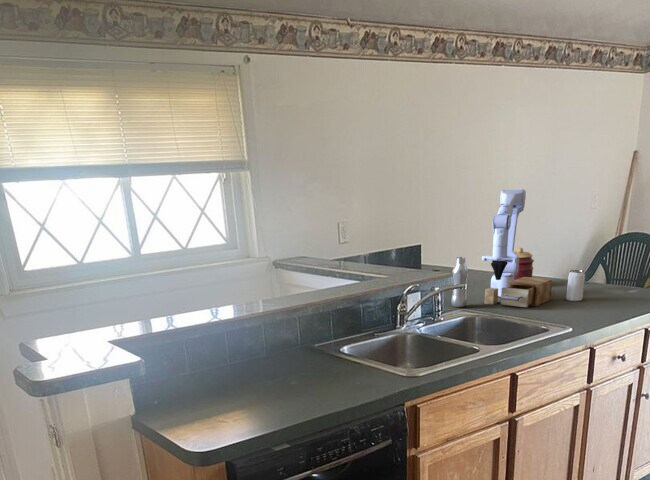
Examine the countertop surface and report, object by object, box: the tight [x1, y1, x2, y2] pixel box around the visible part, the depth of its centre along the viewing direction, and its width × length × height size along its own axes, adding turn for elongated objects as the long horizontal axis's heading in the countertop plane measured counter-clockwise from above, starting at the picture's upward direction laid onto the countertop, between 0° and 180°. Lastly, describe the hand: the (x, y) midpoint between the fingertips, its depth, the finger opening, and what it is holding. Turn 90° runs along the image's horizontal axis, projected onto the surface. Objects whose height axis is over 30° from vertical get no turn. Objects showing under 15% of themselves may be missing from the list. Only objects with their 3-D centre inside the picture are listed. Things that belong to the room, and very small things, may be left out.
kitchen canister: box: [513, 247, 535, 280], centre depth 303 cm, size 13×13×18 cm
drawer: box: [500, 285, 536, 308], centre depth 267 cm, size 18×11×7 cm, turn 140°
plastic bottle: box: [450, 256, 469, 308], centre depth 267 cm, size 6×7×20 cm
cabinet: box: [509, 276, 553, 307], centre depth 274 cm, size 15×13×9 cm
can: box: [565, 269, 586, 302], centre depth 272 cm, size 6×6×12 cm
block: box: [484, 287, 499, 305], centre depth 274 cm, size 4×4×6 cm
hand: (498, 279), depth 268 cm, fingers closed
